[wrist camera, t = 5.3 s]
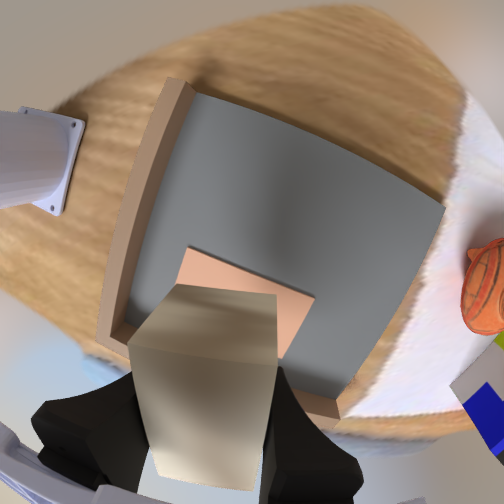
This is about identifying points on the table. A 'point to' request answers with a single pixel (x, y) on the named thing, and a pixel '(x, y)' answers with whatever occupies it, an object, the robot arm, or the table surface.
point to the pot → (484, 289)
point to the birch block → (207, 383)
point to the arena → (266, 236)
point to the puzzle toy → (485, 395)
